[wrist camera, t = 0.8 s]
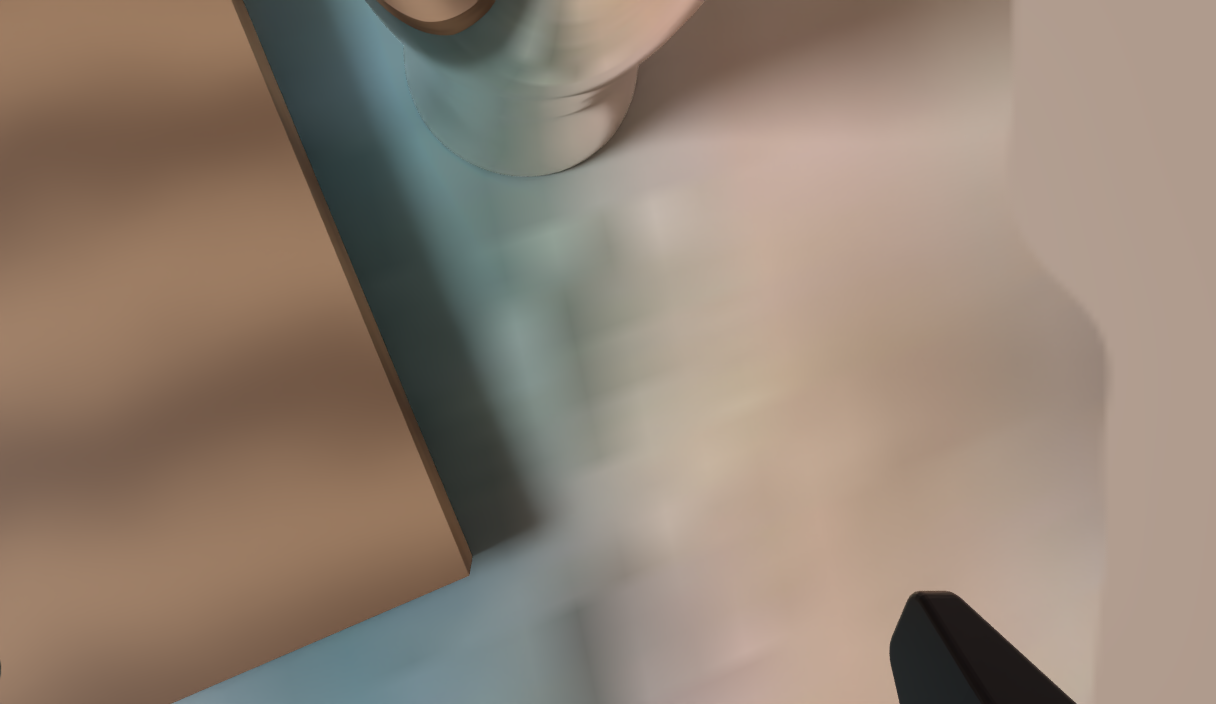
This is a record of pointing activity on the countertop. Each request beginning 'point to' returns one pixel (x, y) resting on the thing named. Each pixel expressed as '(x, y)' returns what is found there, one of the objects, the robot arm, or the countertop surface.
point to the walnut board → (184, 370)
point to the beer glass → (527, 73)
